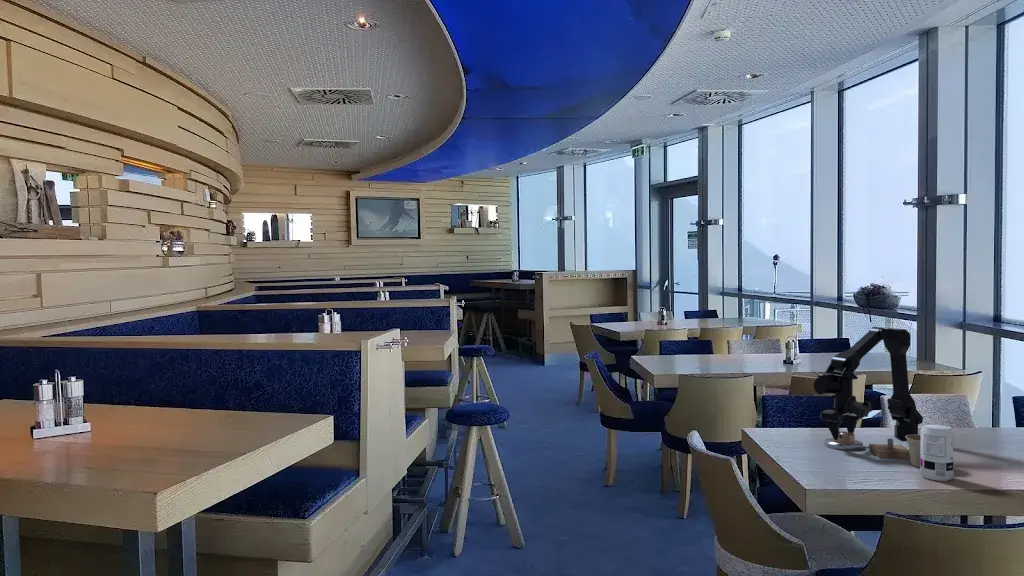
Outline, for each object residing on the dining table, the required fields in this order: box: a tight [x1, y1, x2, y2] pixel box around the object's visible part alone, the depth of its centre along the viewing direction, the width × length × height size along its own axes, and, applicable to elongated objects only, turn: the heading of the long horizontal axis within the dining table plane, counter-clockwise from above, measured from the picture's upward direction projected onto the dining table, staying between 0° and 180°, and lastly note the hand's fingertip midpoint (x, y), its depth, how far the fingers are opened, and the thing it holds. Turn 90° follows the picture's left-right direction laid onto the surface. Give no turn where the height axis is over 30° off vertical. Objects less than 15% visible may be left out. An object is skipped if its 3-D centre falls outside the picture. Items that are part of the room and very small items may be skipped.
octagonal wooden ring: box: [832, 430, 856, 444], centre depth 242 cm, size 6×6×3 cm
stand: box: [868, 438, 910, 460], centre depth 232 cm, size 10×10×5 cm
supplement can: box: [919, 423, 955, 482], centre depth 205 cm, size 8×8×15 cm
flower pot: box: [905, 434, 921, 468], centre depth 218 cm, size 9×9×9 cm
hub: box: [823, 433, 864, 452], centre depth 243 cm, size 12×12×4 cm
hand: (843, 437), depth 242 cm, fingers open, 9 cm apart
